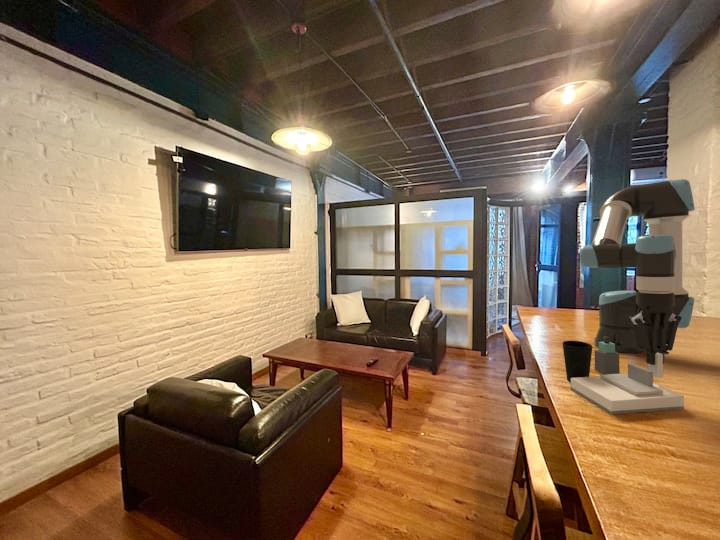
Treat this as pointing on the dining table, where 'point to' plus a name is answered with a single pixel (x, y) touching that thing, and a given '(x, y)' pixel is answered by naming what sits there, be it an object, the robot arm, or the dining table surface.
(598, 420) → the dining table surface
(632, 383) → the panel
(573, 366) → the cup
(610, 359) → the plug
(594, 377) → the socket board
